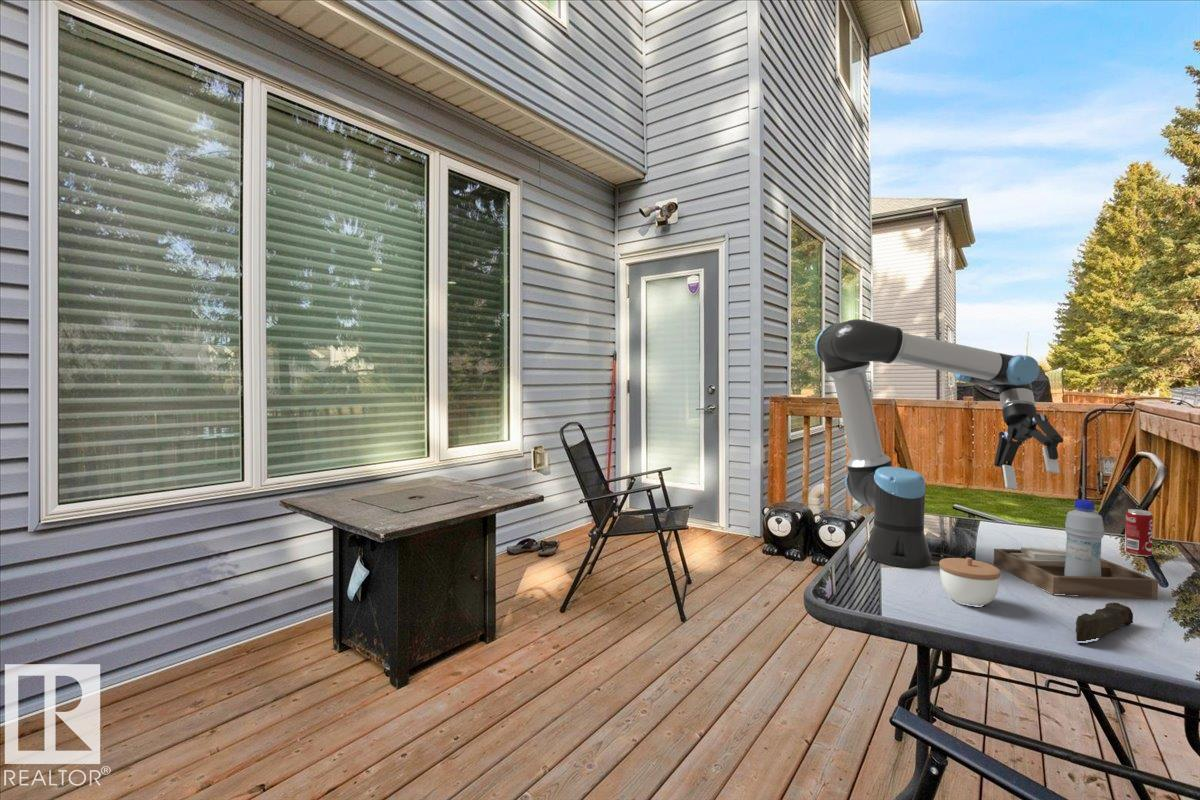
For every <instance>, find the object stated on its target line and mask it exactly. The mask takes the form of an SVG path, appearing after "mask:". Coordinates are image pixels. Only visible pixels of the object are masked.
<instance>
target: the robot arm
mask: <svg viewBox="0 0 1200 800" xmlns="http://www.w3.org/2000/svg"><path fill="white" fill-rule="evenodd" d="M814 349H815V353H816V355H817V357H818V358H819V360H821V361H822V362H823V364H824V368H825V374H826V375H828V376H829V377H831V378H832V379H833V382H834V388H835V392H836V396H837V400H838V401H837V402H838V404H839V405H838V406H839V410H840V414H841V419H842V423H843V428H844V429H843V430H844V432H845V437H846V441H847V446H848V451H849V455H850V458H849V460H848V461H847V462H846V468H847V474H845V477H844V478H845V479H844V483H845V484H844V485H845V488H846V491H847V492H848V494H849V495H850V496H851V497H852V498H853V499H854V500H855V501H856V502H858V503H859V504H861V505H863V506H865V507H866V506H867V507H869V508H871V509H873V528H872V531H871V533H870V535H869V538H868V542H867V543H866V547H865V555H866V554H867V555H868V556H869V557H870V558H871V560H872V559H873V561H874V562H878V563H880V564H883V565H889V566H893V567H900V568H911V569H913V568H914V569H915V568H916V569H917V568H919V569H920V568H926V567H929V566H931V565H932V553H931V551H930V549H929V544H928V541H927V537H926V534H925V513H926V512H925V505H926V492H927V491H926V490H927V489H926V482H925V477H924V476H923V475H922V474H921V473H919V472H918V471H916V470H913V469H910V468H904V467H899V466H893V463H892V459H891V457H890V456H888V455H887V454H886V453H884V451H883V446H882V442H881V437H880V431H879V427H878V423H877V417H876V415H875V414H876V413H875V410H874V405H873V400H872V395H871V391H870V387H869V382H868V381H869V380H868V377H867V373H866V372H867V370H868V368H869V367H870V366H871V364H870V362H876V363H883V364H889V365H890V364H892V363H894V362H898V363H903V364H908V365H911V366H917V367H922V368H927V369H932V370H936V371H941V372H945V373H946V372H947V373H951V374H952V375H953V377H954V379H955V380H957V381H959V382H964V383H966V384H972V385H978V386H983V387H987V388H988V387H989V388H993V389H997V391H998V395H999V400H1000V408H1001V414H1002V419H1003V423H1004V424H1006V426H1007V431H999V433H998V444H997V447H996V454H995V456H994V457H995V458H994V462H993V465H994V466H995V467H998V468H1001V474H1002V477H1003V479H1004V486H1005V489H1009V490H1010V489H1011V490H1015V491H1017V490H1018V484H1017V477H1016V472H1015V466H1013V462H1014V460H1015V457H1016V455H1017V452H1018V450H1019V448H1020V446H1023V445H1022V444H1023V443H1024V442H1026V441H1027V440H1028V439H1029V440H1030V439H1035V440H1036V441H1038V442H1039V443H1040V444H1041V445H1043V446H1042V447H1041V449H1042V450H1041V451H1042V455H1043V459H1044V465H1045V470H1046V472H1047V473H1050V474H1051V473H1052V474H1060V473H1061V471H1060V467H1059V461H1058V459H1059V453H1058V446H1059V444H1060V443H1061V444H1062V443H1063V442H1064V439H1063V437H1062V435H1061V434H1059V432H1058V431H1057V430H1056V428H1055V427H1054V426H1053V425H1052V424H1051V423H1050V421H1049V420H1048V417H1047V416H1048V415H1046V414H1041V413H1038V411H1037V407H1036V401H1035V397H1034V392H1033V385H1032V383H1033V382H1034V381H1035V380H1036V379H1037V378H1038V376H1039V373H1040V365H1039V362H1038V361H1037V360H1036V359H1035V358H1034V357H1032V356H1030V355H1022V354H1015V355H1012V354H1006V353H1002V352H996V351H992V350H989V349H988V350H987V349H984V348H983V349H982V348H977V347H973V346H967V345H964V344H958V343H953V342H949V341H944V340H939V339H934V338H929V337H925V336H920V335H915V334H910V333H905V332H904V331H903V329H901V328H900V327H898V326H896V327H895V326H892V325H888V324H885V323H879V322H876V321H872V320H867V319H857V318H856V319H849V320H846V321H842V322H836V323H833V324H830V325H829V326H827V327H825V328H824V329H823V330H821V331H820V333H819V334H818V335H817V338H816V340H815V343H814ZM1037 427H1038V428H1039V429H1038V428H1037ZM1040 430H1041V431H1040ZM1042 432H1043V433H1042ZM867 555H866V556H867ZM868 556H867V557H868ZM869 557H868V558H869ZM870 558H869V559H870Z"/></svg>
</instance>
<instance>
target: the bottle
mask: <svg viewBox="0 0 1200 800" xmlns="http://www.w3.org/2000/svg"><path fill="white" fill-rule="evenodd" d="M1064 528H1065V530H1064V531H1065V533H1066V544H1065V545H1066V547H1065V549H1066V562H1065V571H1064V574H1065V576H1089V577H1101V558H1102V539H1103V538H1104V536H1105V535H1104V532H1105V527H1104V520H1103V516H1102V515H1101V514H1099V513H1098V512H1096V511H1095V503H1094V502H1093V501H1091V500H1088V499H1085V498H1084V499H1076V500H1075V501H1074V509H1073V510H1069V511H1068V512H1067V513H1066V518H1065V523H1064Z"/></svg>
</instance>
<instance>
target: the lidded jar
mask: <svg viewBox="0 0 1200 800" xmlns="http://www.w3.org/2000/svg"><path fill="white" fill-rule="evenodd" d="M938 562H939V565H938V566H939V576H940V578H939V579H940V582H941V583H940V584H941V586H942V588H943V590H944V591H945V593H946V594H947V595H948V596H949V597H950V598H952V599H954V600H955V601H958V602H961V603H965V604H969V605H978V606H981V605H986V606H987V604H990V603H991V602H992V601H993V600H994V599H995V598H996V596H997V594H998V591H999V588H1000V577H1001V570H1000V569H999V567H997V566H996V565H995V566H994V564H993V565H992V564H990V563H987V562H984V561H980V560H975V559H973V558H971V557H965V558H962V557H946V558H941V559H940V560H939V561H938Z"/></svg>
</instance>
